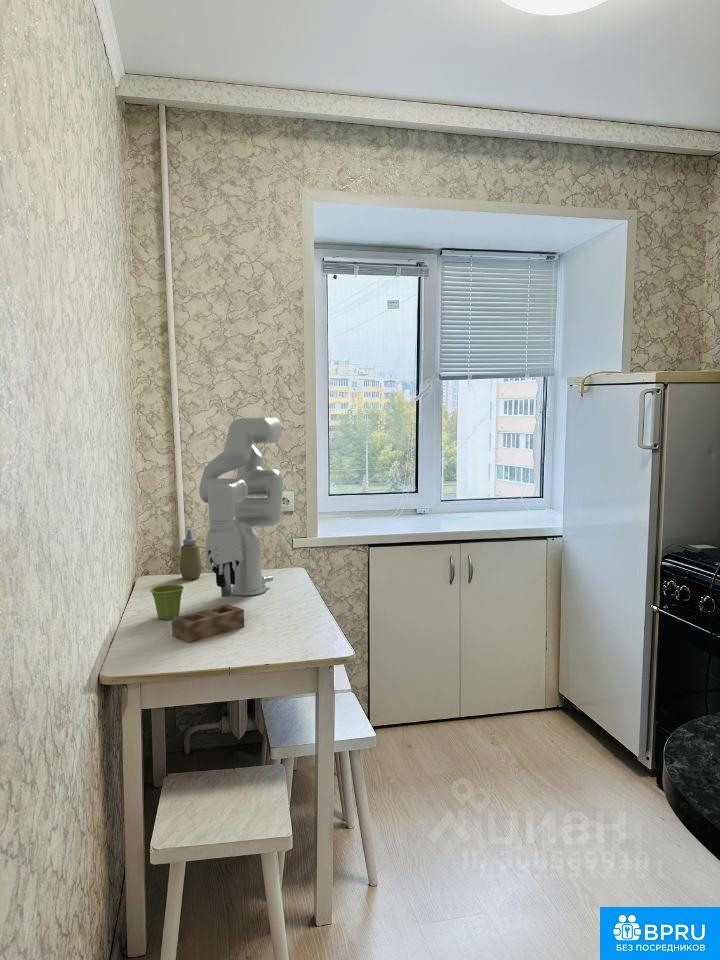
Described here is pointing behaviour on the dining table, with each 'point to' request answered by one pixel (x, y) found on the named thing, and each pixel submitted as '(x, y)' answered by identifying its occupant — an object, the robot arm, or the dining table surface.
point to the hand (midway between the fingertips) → (225, 584)
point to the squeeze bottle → (190, 558)
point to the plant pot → (167, 600)
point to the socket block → (207, 623)
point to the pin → (226, 581)
